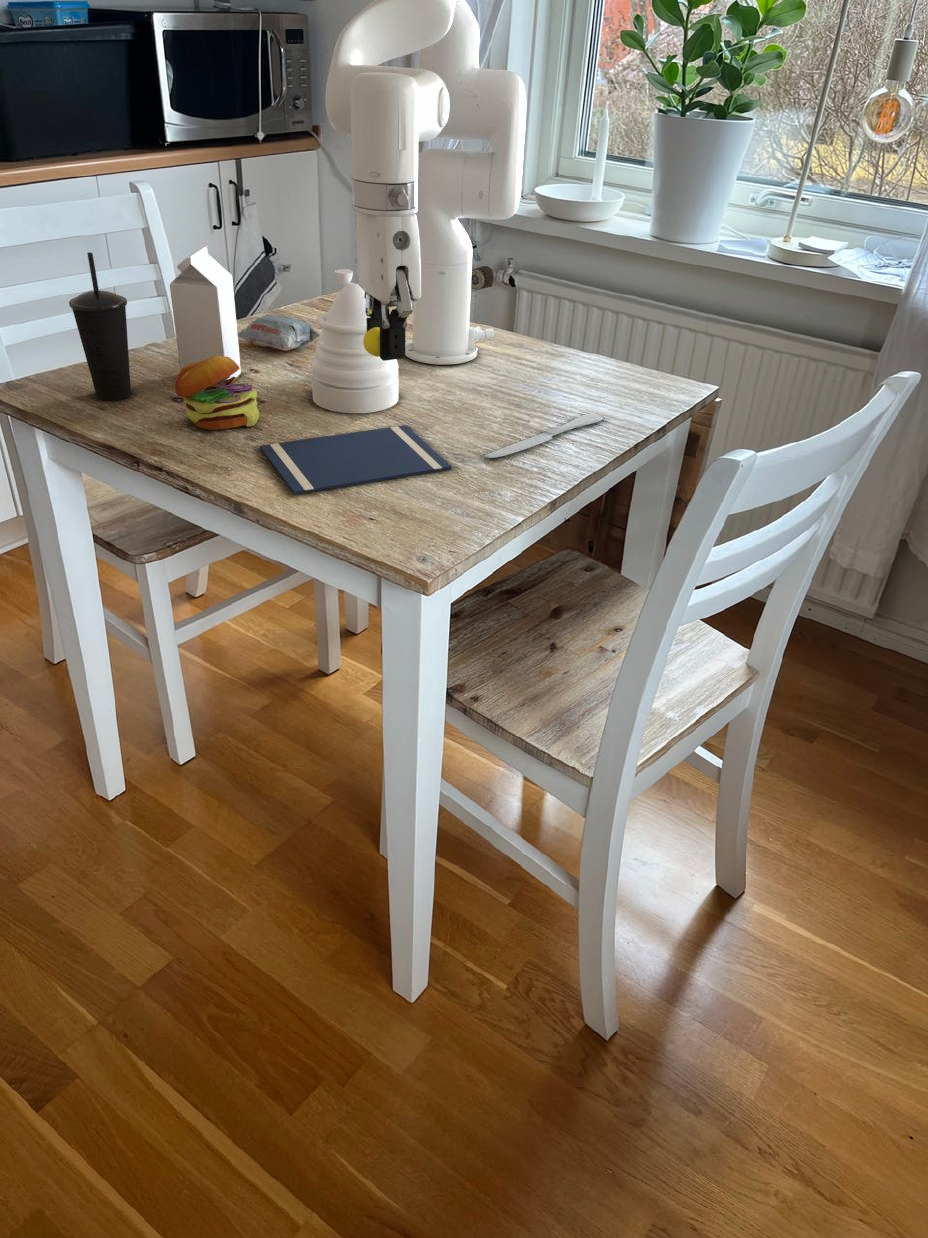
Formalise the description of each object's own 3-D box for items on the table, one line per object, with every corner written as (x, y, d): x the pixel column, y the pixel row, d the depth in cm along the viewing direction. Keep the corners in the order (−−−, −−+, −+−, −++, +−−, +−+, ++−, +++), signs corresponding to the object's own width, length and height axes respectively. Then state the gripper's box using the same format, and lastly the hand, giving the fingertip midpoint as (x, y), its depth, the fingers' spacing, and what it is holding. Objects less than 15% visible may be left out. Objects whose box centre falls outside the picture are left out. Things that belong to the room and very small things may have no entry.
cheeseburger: (240, 438, 127) (216, 365, 122) (176, 444, 131) (150, 374, 126) (276, 412, 135) (255, 343, 130) (214, 418, 139) (191, 351, 134)
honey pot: (294, 396, 142) (287, 271, 132) (359, 377, 150) (356, 259, 140) (351, 420, 134) (348, 290, 125) (415, 399, 142) (417, 276, 133)
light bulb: (357, 355, 118) (359, 325, 117) (396, 361, 122) (398, 333, 121) (371, 353, 115) (373, 323, 115) (411, 360, 119) (413, 331, 118)
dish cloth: (406, 427, 133) (406, 424, 133) (451, 468, 122) (451, 465, 122) (260, 448, 125) (259, 445, 125) (294, 494, 114) (294, 491, 113)
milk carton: (241, 373, 149) (229, 247, 139) (227, 388, 143) (214, 257, 133) (197, 370, 149) (182, 244, 139) (182, 385, 143) (165, 254, 133)
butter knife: (607, 416, 138) (591, 411, 140) (494, 459, 123) (478, 452, 125) (606, 419, 138) (591, 414, 140) (493, 462, 124) (478, 455, 125)
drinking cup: (93, 385, 142) (68, 245, 131) (145, 386, 142) (124, 247, 132) (80, 403, 135) (52, 258, 124) (135, 404, 136) (112, 259, 125)
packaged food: (289, 360, 155) (287, 330, 152) (234, 346, 160) (231, 317, 157) (321, 347, 162) (320, 318, 159) (267, 335, 166) (265, 306, 164)
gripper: (445, 208, 104) (440, 370, 114) (387, 183, 116) (388, 332, 126) (382, 211, 101) (383, 377, 111) (329, 185, 113) (335, 337, 123)
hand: (385, 352), depth 119 cm, fingers closed on light bulb, 3 cm apart
